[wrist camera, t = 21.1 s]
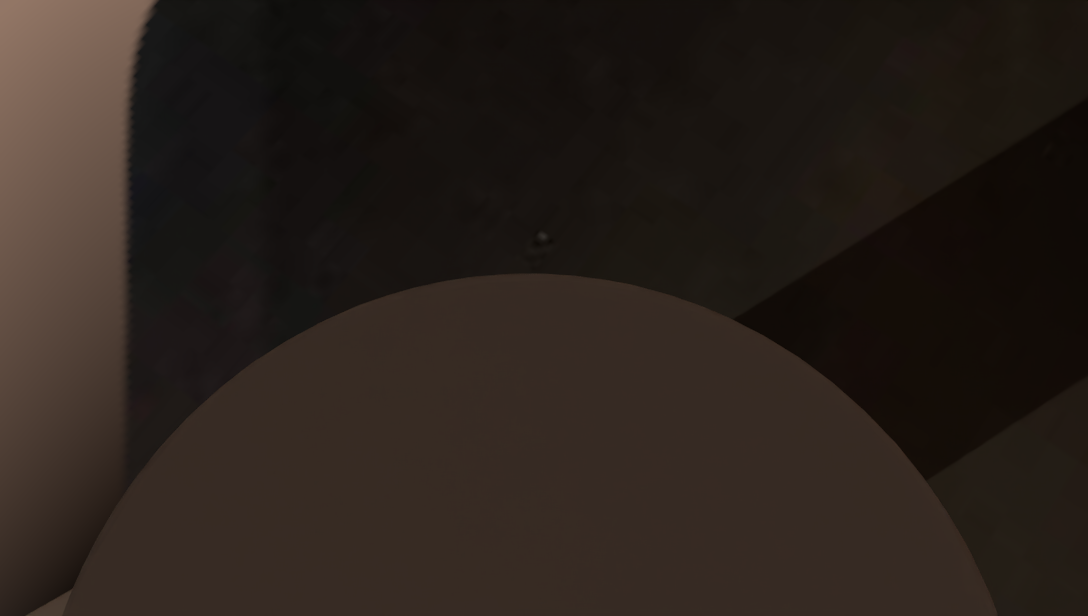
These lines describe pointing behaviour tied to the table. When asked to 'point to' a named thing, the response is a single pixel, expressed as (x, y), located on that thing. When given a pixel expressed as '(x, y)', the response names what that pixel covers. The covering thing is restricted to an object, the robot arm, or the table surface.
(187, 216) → the table surface
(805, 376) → the container
